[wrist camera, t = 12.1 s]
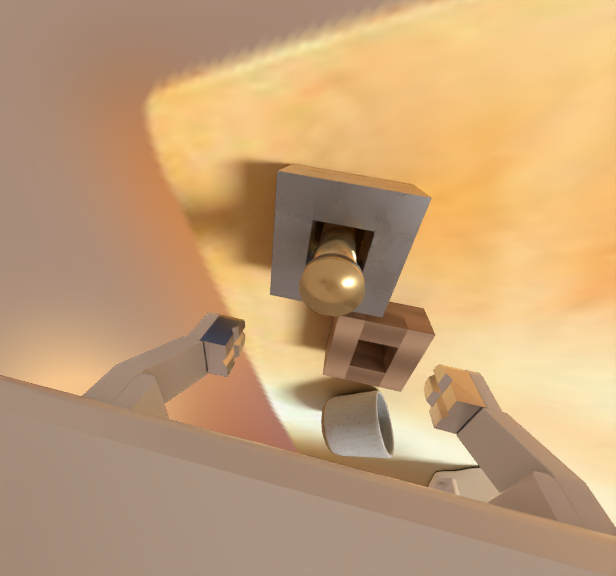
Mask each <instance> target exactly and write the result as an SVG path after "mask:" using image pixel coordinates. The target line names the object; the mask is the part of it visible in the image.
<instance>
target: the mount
mask: <svg viewBox="0 0 616 576" xmlns="http://www.w3.org/2000/svg"><path fill="white" fill-rule="evenodd" d="M434 336H435V333H434V331H433V329H432V326H431V324H430V322H429V319H428V317H427V315H426V312H425V310H424V309H422V308H417V307H412V306H407V305H402V304H397V303H392V302H389V303H388V305H387V307H386V310H385V312H384V315H383V317H377V316H372V315H367V314H362V313H357V312H350V313H348V314H345V315H342V316H334V320H333V323H332V327H331V331H330V335H329V339H328V343H327V346H326V352H325V361H324V369H323V375H327V376H332V377H336V378H341V379H345V380H350V381H354V382H359V383H363V384H368V385H373V386H377V387H382V388H386V389H391V390H395V391H400V392H401V391H402V389H403V387H404V386H405V384H406V382H407V381H408V379H409V377H410V376H411V374H412V373H413V371H414V369H415V368H416V366H417V364H418V363H419V361H420V359H421V358H422V356H423V354H424V353H425V351H426V350H427V348H428V346H429V345H430V343H431V341H432V340H433V338H434ZM358 340H364V341H368V342H373V343H378V344H382V346H380V345H375V344H370V343H365V342H361V341H358Z"/></svg>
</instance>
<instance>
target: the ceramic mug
mask: <svg viewBox="0 0 616 576" xmlns="http://www.w3.org/2000/svg"><path fill="white" fill-rule="evenodd" d="M321 423H322V433H323V437H324V440H325V443H326V445H327V447H328V448H329V450H330V451H331V452H333V453H334V454H338V455H341V456H359V457H375V458H391V457H392V455H393V451H394V438H393V430H392V425H391V419H390V415H389V411H388V407H387V404H386V402H385V399H384V396H383V395H382V393H381V392H380V391H378V390H376V391H370V392H363V393H356V394H350V395H342V396H336V397H333V398H330V399H329V400H327V401H326V403H325V405H324V407H323V410H322V420H321Z"/></svg>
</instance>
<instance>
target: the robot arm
mask: <svg viewBox="0 0 616 576" xmlns="http://www.w3.org/2000/svg"><path fill="white" fill-rule="evenodd" d="M244 328H245V321H244V320H242V319H238V318H234V317H230V316H226V315H220V314H217V313H213V312H209V313H207V314H206V315H205V316H204V318H203V319H202V320H201V321H200V322H199V323H198V324H197V326H196V327H195V328H194V329H193V330H192V331H191V332H190V334H189V335H188V336H187V337H181V338H178V339H176V340H173V341H171V342H169V343H166V344H164V345H162V346H160V347H157V348H155V349H152V350H150V351H148V352H145V353H143V354H140V355H138V356H136V357H133V358H131V359H129V360H126V361H124V362H122V363H119V364H117V365H115V366H114V367H113V368H112V369H111V370H110V371H109V372H108V373H107V374H106V375H104V377H102V378H101V379H100V380H99V381H98V382H97V383H96V384H95V385H94V386H93V387H91V388H90V389H89V390H88V391H87V392H86V393H85V394H84V395H83V396H78V395H74V394H70V393H67V392H63V391H59V390H55V389H51V388H48V387H44V386H40V385H36V384H32V383H29V382H25V381H21V380H17V379H13V378H9V377H6V376H2V375H0V576H616V527H615V526H614V524H613V523H612V521H611V520H610V518H609V517H608V516H607V514H606V513H605V511H604V510H603V508H602V507H601V505H600V504H599V502H598V501H597V499H596V498H595V496H594V495H593V494H592V492H591V491H590V489H589V488H588V486H587V485H586V483H585V482H584V481H583V480H582V479H580V478H579V477H578V476H577V475H576V474H575V473H574V472H572V471H571V470H570V469H569V468H568V467H567V466H566V465H565V464H563V463H562V462H561V461H560V460H559V459H558V458H557V457H556V456H554V455H553V454H552V453H551V452H550V451H549V450H548V449H547V448H545V447H544V446H543V445H542V444H541V443H540V442H539V441H538V440H536V439H535V438H534V437H533V436H532V435H531V434H530V433H529V432H527V431H526V430H525V429H524V428H523V427H522V426H521V425H519V424H518V423H517V422H516V421H515V420H514V419H513V418H512V417H510V416H509V415H508V414H507V413H504V412H502V410H501V409H500V407H499V405H498V403H497V401H496V400H495V398H494V396H493V394H492V392H491V391H490V389H489V387H488V385H487V384H486V382H485V380H484V378H483V376H482V375H481V374H479V373H477V372H472V371H468V370H463V369H458V368H453V367H449V366H444V365H440V364H439V365H437V366H436V367H435V369H434V370H433V371H434V374H435V375H433V376H430V377H428V379H427V381H426V382H425V388H424V392H425V398H426V401H427V402H428V403H429V404H430V405H431V409H430V411H429V412H430V416H431V419H432V423H433V426H434V428H436V429H440V430H444V431H447V432H451V433H455V434H457V437H458V438H459V439H460V441H461V442H462V443H463V445H464V446H465V447H466V449H467V450H468V451H469V453H470V454H471V456H472V457H473V458H474V460H475V461H476V462H477V464H478V465H479V466H480V468H472V469H465V470H460V471H442V472H436V473H435V474H434V476H433V478H432V480H431V482H430V483H429V485H428V487H425V486H421V485H418V484H414V483H410V482H406V481H402V480H399V479H395V478H391V477H387V476H383V475H380V474H376V473H372V472H368V471H364V470H361V469H357V468H353V467H349V466H345V465H342V464H338V463H334V462H330V461H326V460H322V459H319V458H315V457H311V456H307V455H303V454H299V453H296V452H292V451H288V450H284V449H280V448H277V447H272V446H269V445H265V444H261V443H257V442H254V441H250V440H246V439H242V438H238V437H235V436H230V435H227V434H223V433H219V432H215V431H212V430H208V429H204V428H200V427H196V426H192V425H189V424H184V423H181V422H177V421H173V420H169V417H168V413H167V410H166V407H165V403H166V402H168V401H169V400H171V399H172V398H173V397H175V396H176V395H178V394H179V393H181V392H182V391H184V390H185V389H186V388H188V387H189V386H191V385H192V384H194V383H195V382H196V381H198V380H199V379H201V378H202V377H204V376H205V375H207V373H210V374H215V375H220V376H224V377H228V375H229V373H230V371H231V370H232V368H233V366H234V364H235V362H234V358H236V357H238V356H239V355H240V353H241V351H242V349H243V346H244V342H245V334H244V333H243V330H244Z"/></svg>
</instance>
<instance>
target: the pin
mask: <svg viewBox="0 0 616 576" xmlns="http://www.w3.org/2000/svg"><path fill="white" fill-rule="evenodd" d="M299 293H300V296H301V298H302V300H303V302H304V303H305V304H306V305H307V306H308V307H309V308H310V309H311V310H313V311H314V312H316V313H319V314H321V315H325V316H342V315H345V314H348V313H350V312H352V311H353V310H355V309H356V308H357V307H358V306H359V305H360V304H361V302H362V300H363V298H364V294H365V285H364V276H363V273H362V270H361V268H360V267H359V266H358V264H357V263H356V244H355V228H354V227H348V226H343V225H337V224H332V223H327V222H326V223H325V225H324V227H323V230H322V234H321V237H320V240H319V243H318V247H317V250H316V253H315V257H314V259H312V260H311V261H310V262H309V263H308V264H307V265H306V267H305V268H304V271H303V273H302V276H301V279H300V282H299Z"/></svg>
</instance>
